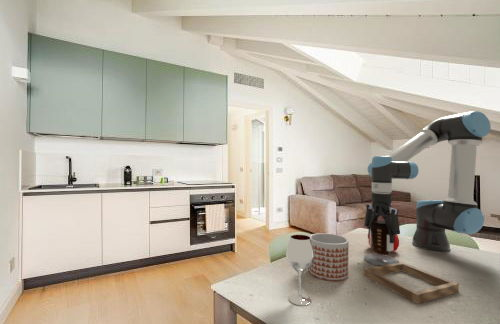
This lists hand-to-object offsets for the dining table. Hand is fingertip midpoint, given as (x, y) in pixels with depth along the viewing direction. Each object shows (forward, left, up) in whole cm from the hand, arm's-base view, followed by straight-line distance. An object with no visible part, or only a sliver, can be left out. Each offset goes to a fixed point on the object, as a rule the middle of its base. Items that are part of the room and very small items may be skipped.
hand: (381, 247), depth 102 cm
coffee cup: (0, 0, -2) cm, 2 cm away
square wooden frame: (+9, +18, -6) cm, 21 cm away
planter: (+29, +2, -6) cm, 30 cm away
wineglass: (+49, +14, -6) cm, 51 cm away
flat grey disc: (0, 0, -6) cm, 6 cm away
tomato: (-13, -10, -6) cm, 17 cm away
